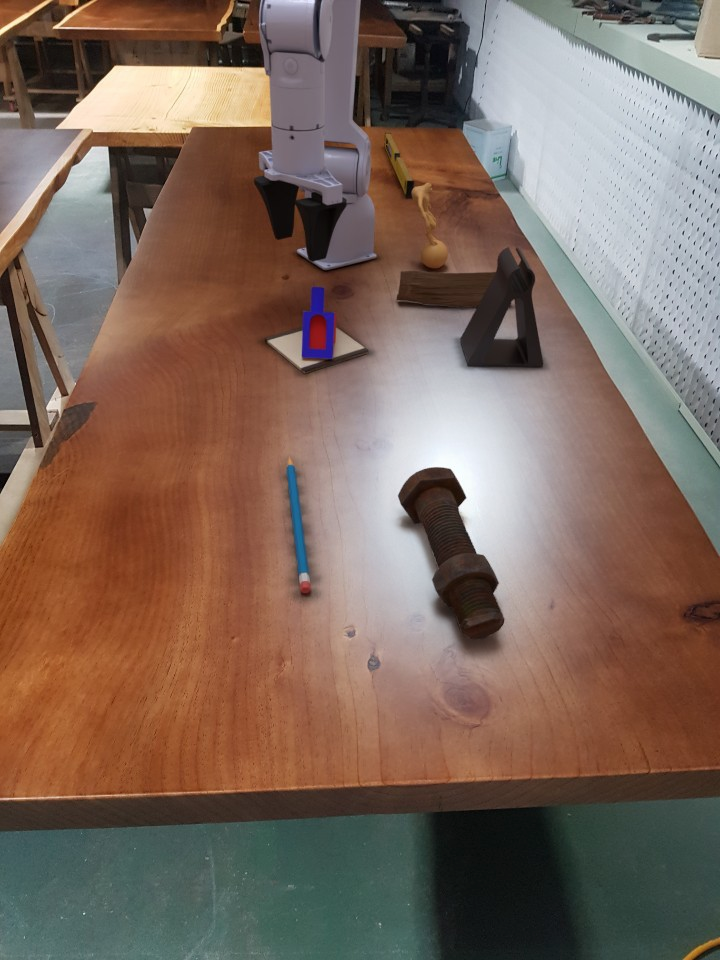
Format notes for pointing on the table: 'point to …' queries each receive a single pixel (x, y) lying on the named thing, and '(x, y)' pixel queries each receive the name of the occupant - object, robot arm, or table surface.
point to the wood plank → (444, 288)
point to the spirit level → (399, 165)
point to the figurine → (429, 229)
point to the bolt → (453, 551)
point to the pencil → (298, 529)
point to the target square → (292, 351)
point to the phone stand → (490, 314)
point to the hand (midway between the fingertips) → (300, 248)
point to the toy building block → (318, 328)
